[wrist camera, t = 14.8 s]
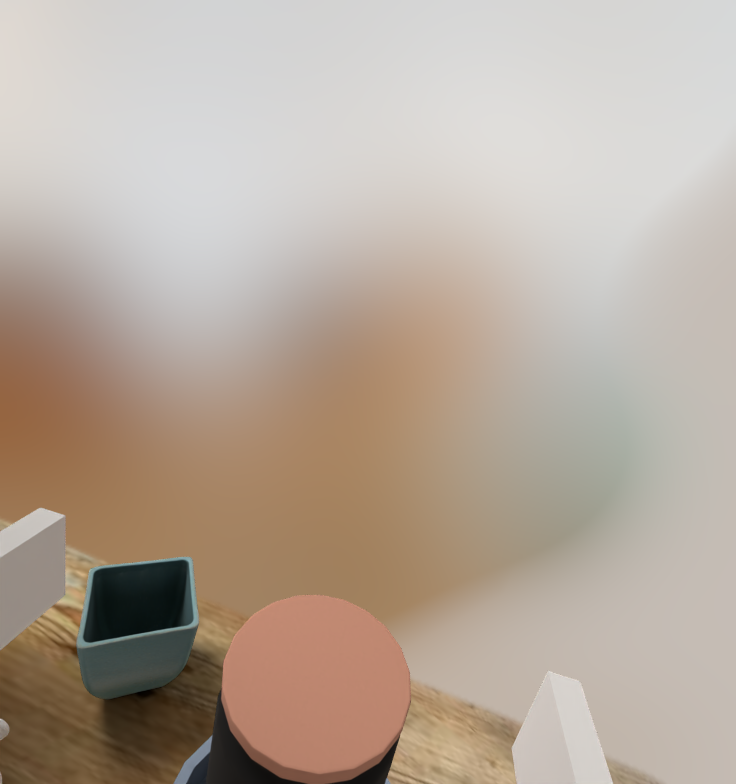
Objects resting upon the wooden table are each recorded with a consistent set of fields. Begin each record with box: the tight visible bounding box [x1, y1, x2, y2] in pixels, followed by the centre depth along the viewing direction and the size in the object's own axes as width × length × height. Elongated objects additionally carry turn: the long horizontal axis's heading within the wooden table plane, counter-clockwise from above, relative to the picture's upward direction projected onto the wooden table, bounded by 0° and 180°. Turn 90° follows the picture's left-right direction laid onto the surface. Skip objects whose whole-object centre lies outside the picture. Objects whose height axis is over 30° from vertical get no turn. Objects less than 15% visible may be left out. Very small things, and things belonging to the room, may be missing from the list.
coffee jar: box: [206, 595, 411, 784], centre depth 27 cm, size 11×11×18 cm
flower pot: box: [76, 557, 199, 699], centre depth 39 cm, size 9×9×9 cm
